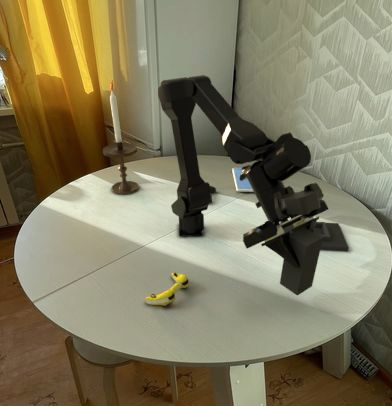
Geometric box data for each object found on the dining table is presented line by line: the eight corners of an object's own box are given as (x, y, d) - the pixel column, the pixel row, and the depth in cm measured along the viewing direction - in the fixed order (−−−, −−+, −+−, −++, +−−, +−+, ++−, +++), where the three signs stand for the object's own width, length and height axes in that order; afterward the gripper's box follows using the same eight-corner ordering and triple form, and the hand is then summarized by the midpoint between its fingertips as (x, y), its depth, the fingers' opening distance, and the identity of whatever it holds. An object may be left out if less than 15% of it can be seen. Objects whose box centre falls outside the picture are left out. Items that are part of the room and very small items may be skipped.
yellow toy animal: (171, 311, 72) (164, 297, 71) (149, 309, 76) (143, 296, 75) (196, 284, 79) (191, 270, 78) (175, 283, 83) (170, 270, 82)
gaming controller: (213, 202, 111) (200, 189, 109) (201, 211, 114) (188, 199, 112) (218, 189, 119) (205, 176, 117) (206, 198, 122) (194, 186, 120)
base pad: (284, 247, 92) (285, 239, 90) (280, 223, 102) (281, 215, 100) (347, 251, 90) (350, 242, 89) (337, 226, 100) (339, 218, 99)
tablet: (231, 170, 134) (231, 167, 133) (264, 170, 134) (265, 166, 133) (236, 193, 118) (236, 189, 117) (273, 192, 118) (274, 189, 117)
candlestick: (125, 179, 128) (111, 75, 109) (147, 187, 123) (137, 78, 104) (102, 190, 121) (83, 81, 102) (125, 199, 116) (109, 85, 96)
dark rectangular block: (279, 283, 72) (287, 234, 66) (294, 274, 75) (303, 226, 68) (297, 295, 69) (307, 246, 63) (312, 286, 72) (323, 237, 65)
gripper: (259, 186, 57) (303, 274, 56) (330, 160, 66) (369, 234, 65) (225, 210, 67) (262, 285, 65) (291, 184, 76) (324, 249, 75)
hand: (306, 262), depth 67 cm, fingers closed on dark rectangular block, 4 cm apart
